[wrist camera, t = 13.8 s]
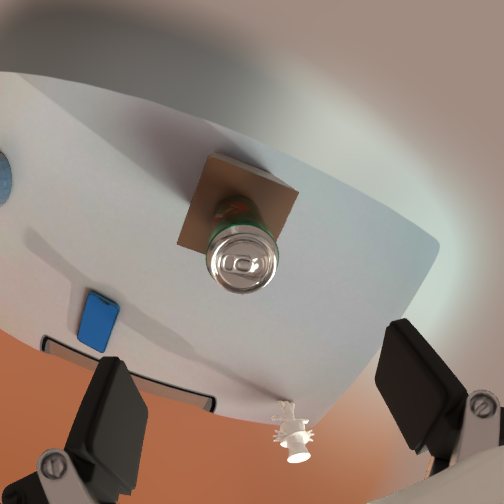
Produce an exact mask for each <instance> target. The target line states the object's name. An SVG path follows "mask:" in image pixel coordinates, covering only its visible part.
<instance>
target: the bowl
mask: <svg viewBox="0 0 504 504" xmlns="http://www.w3.org/2000/svg"><path fill="white" fill-rule="evenodd" d="M11 178H12V177H11V170H10V166H9V163H8V161H7V159H6V158H5V156H4V155H3V154H2V153H0V207H1V206H2V205H3V204H4V203H5V202H6V201H7V199H8V197H9V194H10V190H11Z"/></svg>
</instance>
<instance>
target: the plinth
mask: <svg viewBox="0 0 504 504" xmlns="http://www.w3.org/2000/svg"><path fill="white" fill-rule="evenodd" d="M298 194H299V192H298V191H297V190H295V189H294V188H292V187H291V186H289V185H288V184H286V183H285V182H283V181H282V180H280V179H279V178H277V177H276V176H274V175H273V174H271V173H268V172H266V171H263V170H261V169H259V168H256V167H254V166H251V165H249V164H246V163H244V162H241V161H239V160H236V159H233V158H231V157H228V156H226V155H223V154H220V153H218V152H215V153H213V154H212V155H210V156H209V157H208V160H207V162H206V165H205V167H204V170H203V172H202V175H201V178H200V180H199V183H198V185H197V188H196V191H195V193H194V196H193V199H192V202H191V204H190V207H189V210H188V213H187V216H186V218H185V221H184V224H183V227H182V230H181V233H180V236H179V239H178V242H177V245H180V246H183V247H186V248H188V249H191V250H194V251H197V252H200V253H202V254H205V255H206V250H207V244H208V238H209V232H210V226H211V220H212V215H213V212H214V209H215V208H216V206H217V205H218V204H219V203H220V202H221V201H222V200H224V199H225V198H228V197H231V196H243V197H246V198H249V199H250V200H252V201H253V202H254V203H255V204H256V205H257V206H258V208H259V210H260V212H261V214H262V216H263V218H264V220H265V222H266V224H267V226H268V228H269V230H270V232H271V234H272V236H273V238H274V240H275V242H277V240H278V238H279V236H280V233H281V231H282V229H283V227H284V225H285V222H286V220H287V218H288V216H289V214H290V211H291V209H292V207H293V205H294V203H295V200H296V198H297V196H298Z"/></svg>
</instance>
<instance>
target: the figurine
mask: <svg viewBox="0 0 504 504" xmlns="http://www.w3.org/2000/svg"><path fill="white" fill-rule="evenodd" d="M278 404H279V406H280V407H281V409H282V410H283V413H284V417H282V416H278V415H276V416H275V415H272V416H271V418H270V419H273V421H274V420H285V422H283V423H282V425H281V426H280V431H277V430H275V432H277V433H278V434H279V435H274V436H273V437H277V439H275V440H274V441H281V443H280V445H281V446H283V447H288V449H289V456H288V462H291V463H298V462H302V461H305V460H307V459H309V458H310V456H311V455H310V454H309V452H308V451H307V448H306V446H305V444H306V443H307V442H308V441H313V440H312V439H310V436H312V435H314V434H311V433H310V432H311V431H312V430H310V431H308V432H307V431H305V425H304V423H308V422H309V420H308V419H295V416H294V412H293V411H294V406H295V403H290V404H289V402H288V401H284V405H285V408H284V405H283V401H278Z"/></svg>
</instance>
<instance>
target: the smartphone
mask: <svg viewBox="0 0 504 504" xmlns="http://www.w3.org/2000/svg"><path fill="white" fill-rule="evenodd" d="M119 311H120V308H119V306H118V305H117V304H115V303H113V302H111V301H109V300H108V299H106V298H104V297H102V296H100V295H98V294H97V293H95V292H90V293H89V294H88V296H87V300H86V303H85V307H84V311H83V315H82V319H81V323H80V327H79V331H78V335H77V339H78V340H79V341H80V342H82V343H84V344H85V345H87V346H89V347H91V348H93V349H95V350H97V351H98V352H100V353H104V352H105V350H106V347H107V344H108V341H109V338H110V335H111V333H112V330H113V327H114V325H115V322H116V319H117V316H118V314H119Z"/></svg>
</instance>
